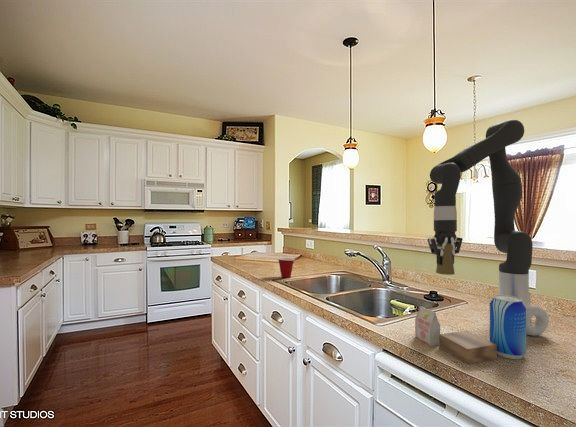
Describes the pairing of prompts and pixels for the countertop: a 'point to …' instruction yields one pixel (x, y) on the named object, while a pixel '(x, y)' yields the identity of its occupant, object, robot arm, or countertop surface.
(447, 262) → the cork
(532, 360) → the countertop surface
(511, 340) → the beer can
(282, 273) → the plastic cup
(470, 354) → the walnut base
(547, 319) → the donut
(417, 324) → the white tall box
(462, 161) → the robot arm
